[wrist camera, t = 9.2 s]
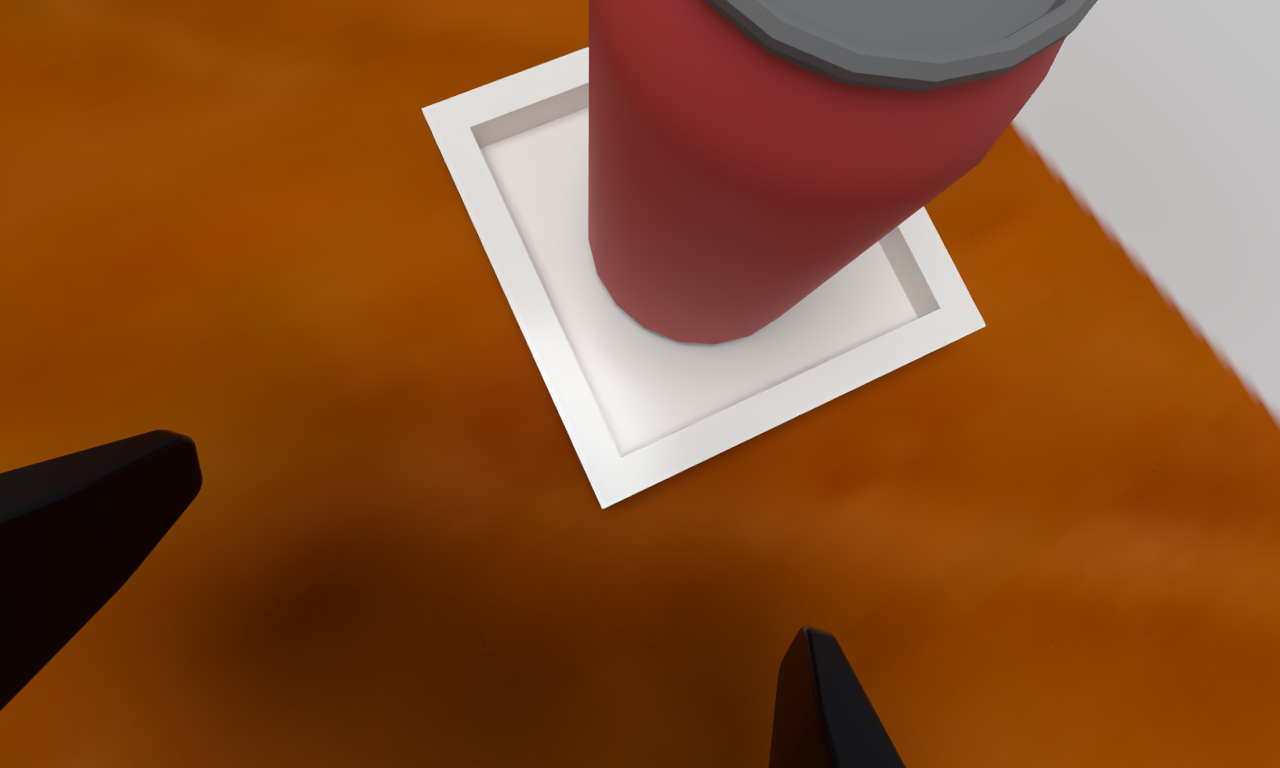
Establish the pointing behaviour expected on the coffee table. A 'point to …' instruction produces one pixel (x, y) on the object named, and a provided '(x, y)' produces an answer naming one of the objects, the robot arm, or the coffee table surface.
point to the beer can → (786, 138)
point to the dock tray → (638, 357)
